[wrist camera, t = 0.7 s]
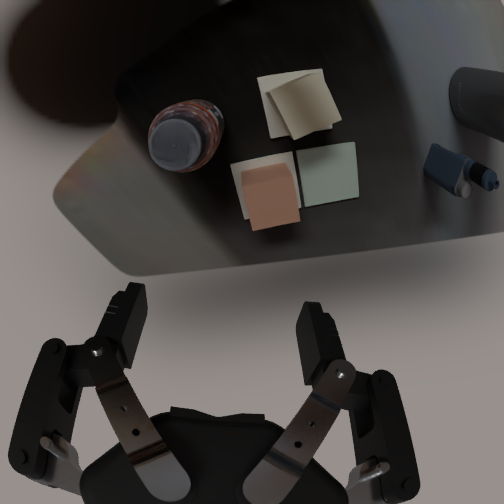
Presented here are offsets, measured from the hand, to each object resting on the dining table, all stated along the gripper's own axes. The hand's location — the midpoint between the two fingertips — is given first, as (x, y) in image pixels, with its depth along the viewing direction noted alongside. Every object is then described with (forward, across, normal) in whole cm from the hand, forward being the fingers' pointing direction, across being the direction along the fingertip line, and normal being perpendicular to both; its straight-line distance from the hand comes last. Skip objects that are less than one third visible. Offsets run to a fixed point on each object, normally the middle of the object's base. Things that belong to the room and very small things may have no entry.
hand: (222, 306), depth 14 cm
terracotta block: (+20, -4, +1) cm, 21 cm away
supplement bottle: (+21, +5, -5) cm, 22 cm away
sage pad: (+21, -11, -2) cm, 24 cm away
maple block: (+21, -5, -9) cm, 23 cm away
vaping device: (+22, -25, -7) cm, 34 cm away
